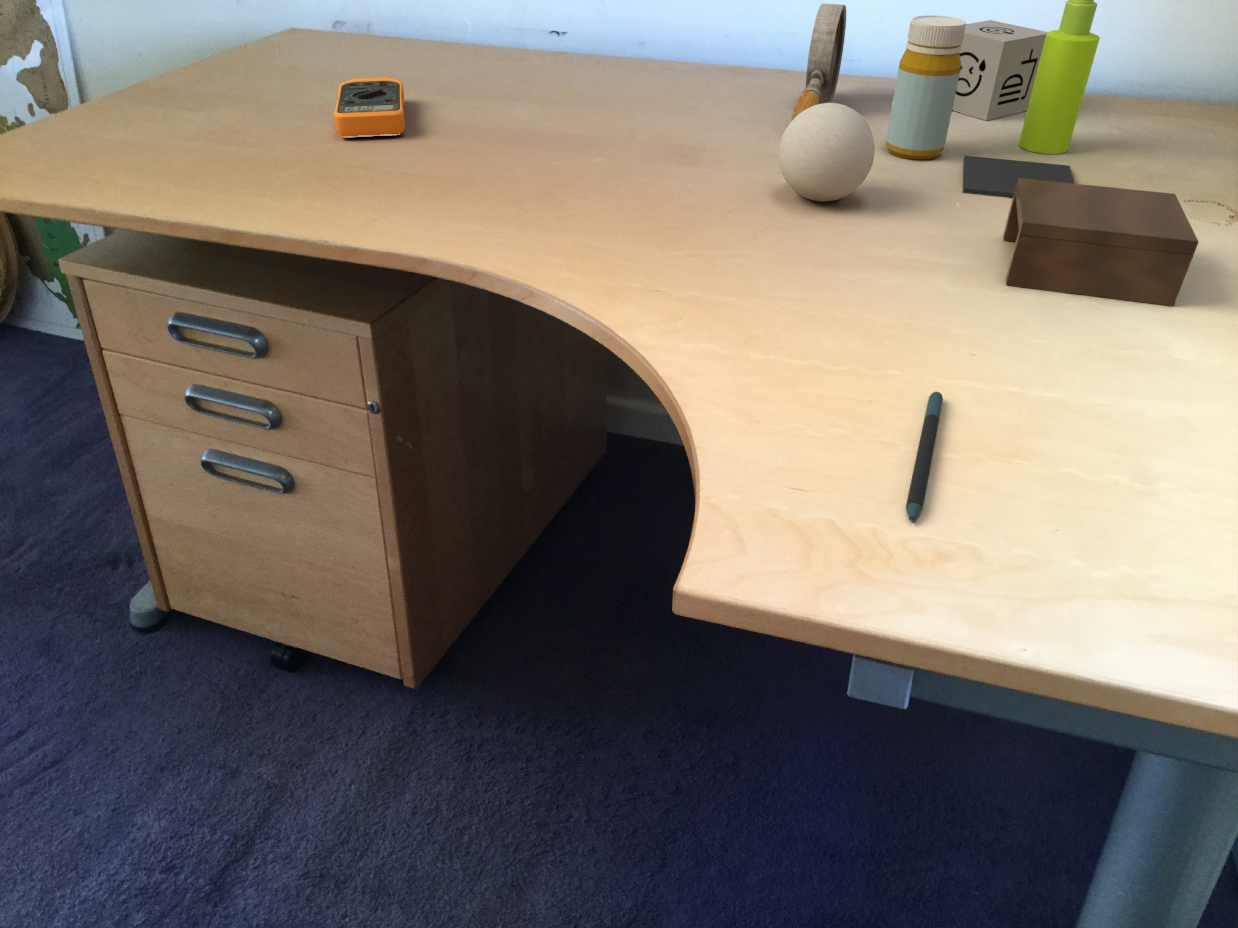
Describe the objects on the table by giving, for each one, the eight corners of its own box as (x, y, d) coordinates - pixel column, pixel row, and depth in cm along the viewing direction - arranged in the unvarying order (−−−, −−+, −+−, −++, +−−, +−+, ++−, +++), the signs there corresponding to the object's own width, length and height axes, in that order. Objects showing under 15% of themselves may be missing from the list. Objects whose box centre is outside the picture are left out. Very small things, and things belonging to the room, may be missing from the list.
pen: (900, 527, 58) (904, 512, 57) (927, 401, 70) (930, 387, 69) (918, 531, 58) (922, 516, 57) (942, 403, 70) (945, 390, 69)
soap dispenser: (1061, 159, 115) (1112, -23, 103) (1009, 146, 119) (1053, -31, 107) (1084, 149, 118) (1137, -29, 106) (1033, 136, 122) (1078, -36, 110)
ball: (764, 207, 101) (773, 111, 95) (785, 178, 108) (796, 88, 103) (857, 221, 98) (873, 123, 92) (873, 190, 106) (888, 97, 100)
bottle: (873, 147, 118) (894, 17, 109) (918, 140, 120) (943, 13, 112) (907, 164, 113) (933, 29, 104) (954, 157, 115) (983, 24, 106)
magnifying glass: (814, 84, 114) (849, -13, 128) (789, 82, 115) (827, -14, 129) (807, 176, 124) (840, 77, 138) (784, 173, 125) (819, 75, 139)
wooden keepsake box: (1153, 253, 92) (1175, 193, 88) (1173, 306, 82) (1199, 241, 79) (1002, 236, 95) (1017, 177, 91) (1005, 285, 86) (1022, 222, 82)
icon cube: (1032, 109, 132) (1051, 33, 126) (986, 120, 128) (1004, 42, 122) (974, 93, 139) (990, 20, 133) (928, 103, 134) (943, 28, 129)
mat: (1068, 169, 112) (1069, 165, 111) (1077, 204, 102) (1078, 200, 102) (963, 159, 114) (964, 155, 114) (962, 192, 105) (963, 188, 105)
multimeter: (405, 100, 134) (402, 75, 132) (406, 138, 120) (402, 110, 118) (343, 103, 132) (339, 77, 130) (337, 142, 118) (332, 114, 116)
